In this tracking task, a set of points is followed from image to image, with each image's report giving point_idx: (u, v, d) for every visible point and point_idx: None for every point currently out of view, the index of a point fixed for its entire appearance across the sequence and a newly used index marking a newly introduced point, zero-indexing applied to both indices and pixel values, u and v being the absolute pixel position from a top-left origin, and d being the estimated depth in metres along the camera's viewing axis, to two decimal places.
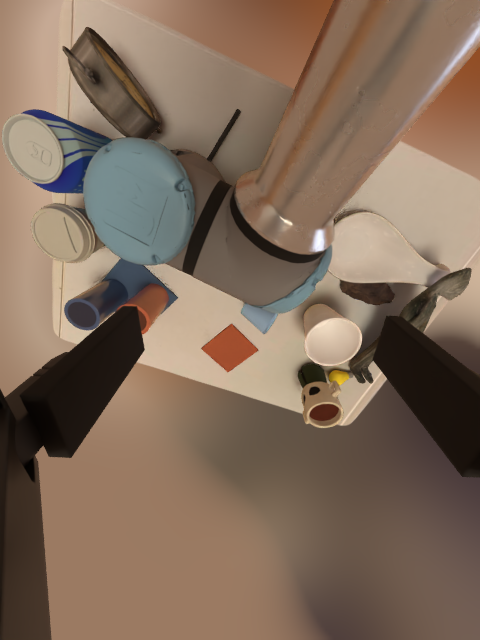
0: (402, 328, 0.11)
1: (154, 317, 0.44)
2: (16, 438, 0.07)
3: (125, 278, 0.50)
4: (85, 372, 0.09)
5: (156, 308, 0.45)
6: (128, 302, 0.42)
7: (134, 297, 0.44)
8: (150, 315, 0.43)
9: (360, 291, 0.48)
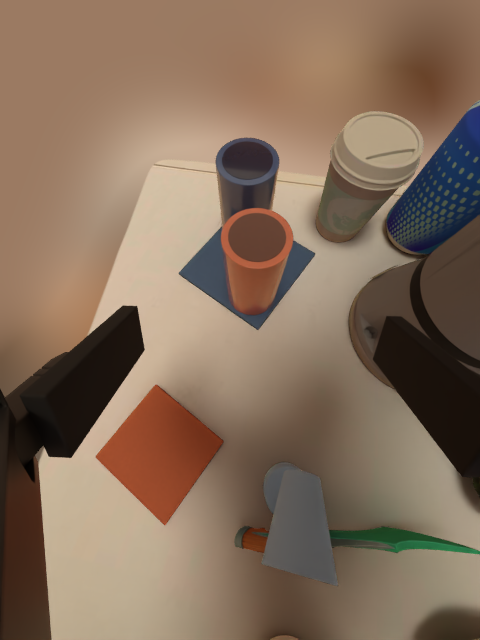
0: (402, 328, 0.11)
1: (257, 281, 0.22)
2: (16, 438, 0.07)
3: None
4: (85, 372, 0.09)
5: (268, 286, 0.23)
6: None
7: None
8: (270, 271, 0.20)
9: None
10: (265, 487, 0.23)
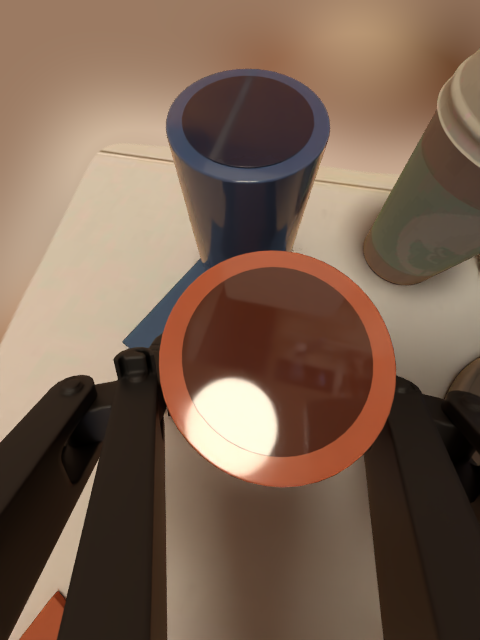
0: None
1: None
2: (159, 395, 0.09)
3: None
4: None
5: None
6: None
7: None
8: None
9: None
10: None
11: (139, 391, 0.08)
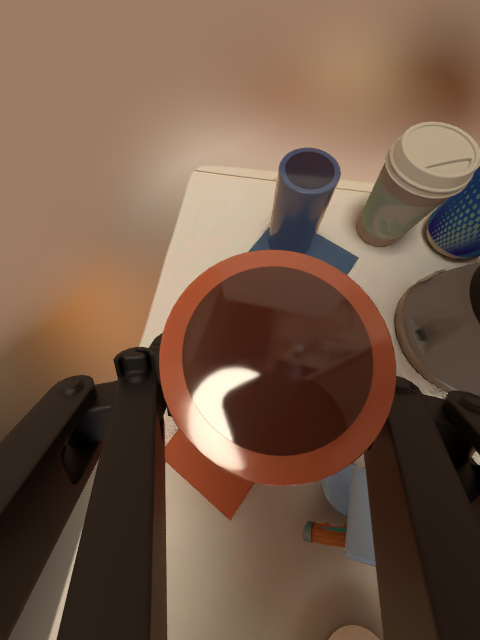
0: None
1: None
2: (159, 395, 0.09)
3: (317, 254, 0.34)
4: None
5: None
6: None
7: None
8: None
9: None
10: (327, 484, 0.24)
11: (139, 391, 0.08)
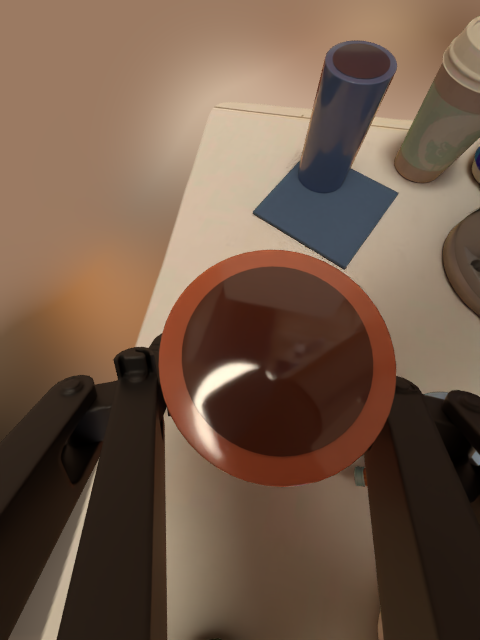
0: None
1: None
2: (159, 395, 0.09)
3: (352, 189, 0.31)
4: None
5: None
6: None
7: None
8: None
9: None
10: None
11: (139, 391, 0.08)
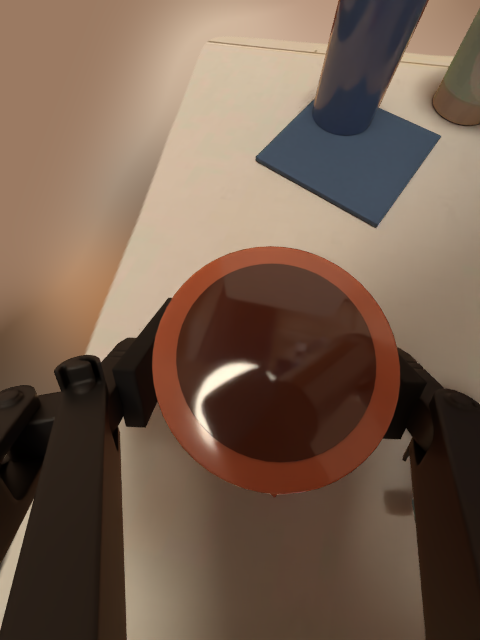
0: None
1: None
2: (110, 406, 0.08)
3: (382, 132, 0.24)
4: None
5: None
6: None
7: None
8: None
9: None
10: None
11: (86, 401, 0.07)
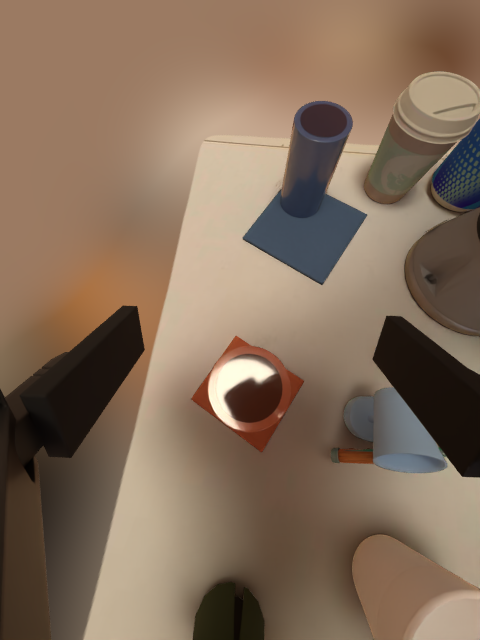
0: (402, 328, 0.11)
1: None
2: (16, 438, 0.07)
3: (327, 213, 0.35)
4: (85, 372, 0.09)
5: None
6: None
7: None
8: None
9: None
10: (350, 414, 0.26)
11: None
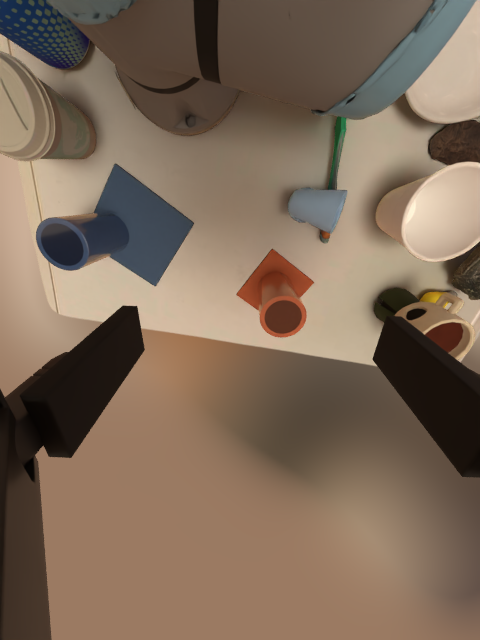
0: (402, 328, 0.11)
1: None
2: (16, 438, 0.07)
3: (120, 207, 0.37)
4: (85, 372, 0.09)
5: None
6: (275, 294, 0.32)
7: (274, 288, 0.34)
8: None
9: (466, 145, 0.31)
10: (300, 221, 0.36)
11: None
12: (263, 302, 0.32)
